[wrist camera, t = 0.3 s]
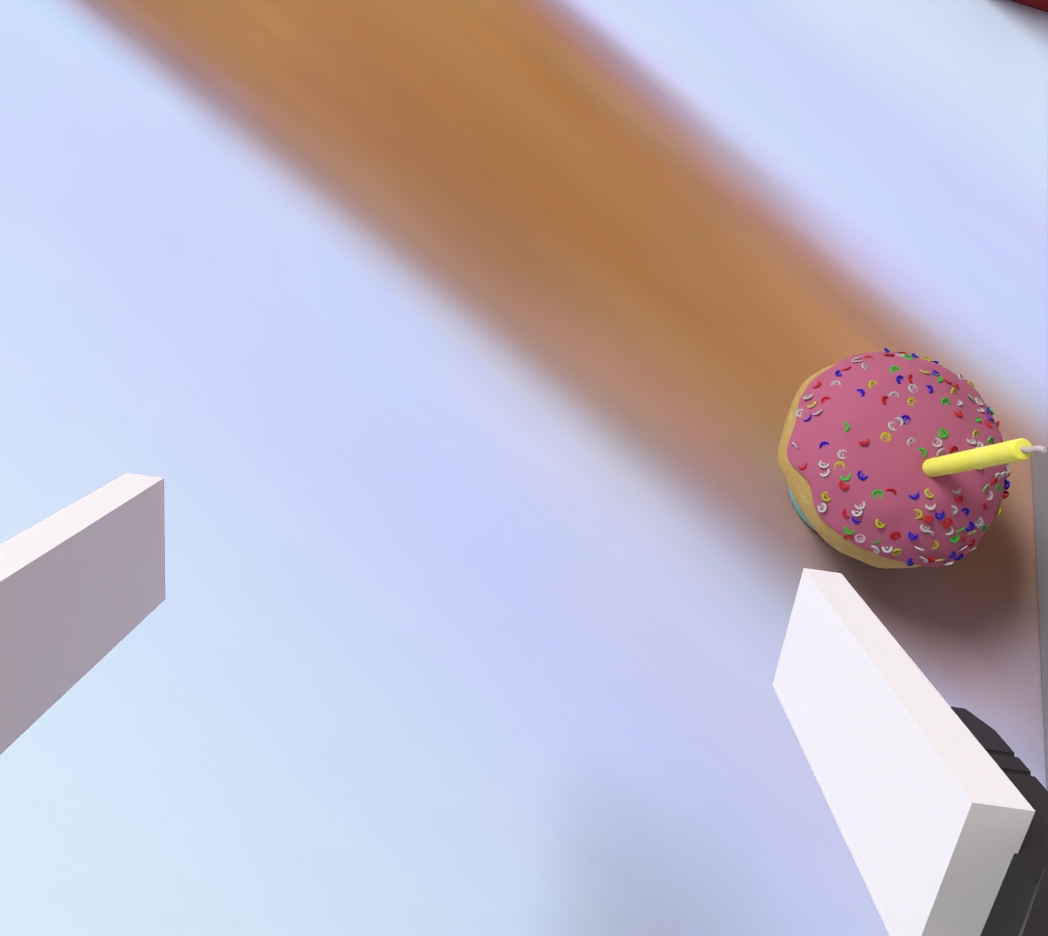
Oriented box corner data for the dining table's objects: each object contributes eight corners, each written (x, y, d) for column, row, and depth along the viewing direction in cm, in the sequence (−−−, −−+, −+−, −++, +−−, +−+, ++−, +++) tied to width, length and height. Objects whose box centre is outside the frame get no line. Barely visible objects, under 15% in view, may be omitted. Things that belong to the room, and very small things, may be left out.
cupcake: (943, 586, 33) (1206, 530, 21) (748, 582, 32) (911, 522, 20) (915, 398, 35) (1139, 256, 24) (734, 391, 34) (873, 241, 23)
